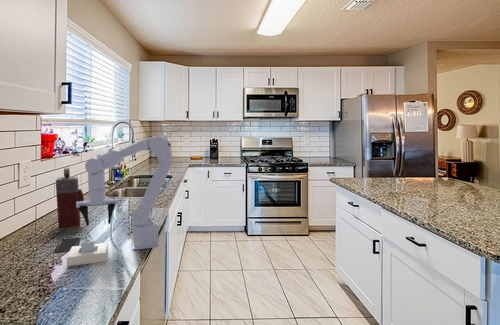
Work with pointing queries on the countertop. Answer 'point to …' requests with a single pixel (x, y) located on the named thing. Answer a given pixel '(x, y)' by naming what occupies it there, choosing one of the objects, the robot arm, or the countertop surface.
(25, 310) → the countertop surface
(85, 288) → the countertop surface
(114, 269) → the countertop surface
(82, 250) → the block
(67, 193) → the dark red french press
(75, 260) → the block
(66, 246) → the phone
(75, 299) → the countertop surface
